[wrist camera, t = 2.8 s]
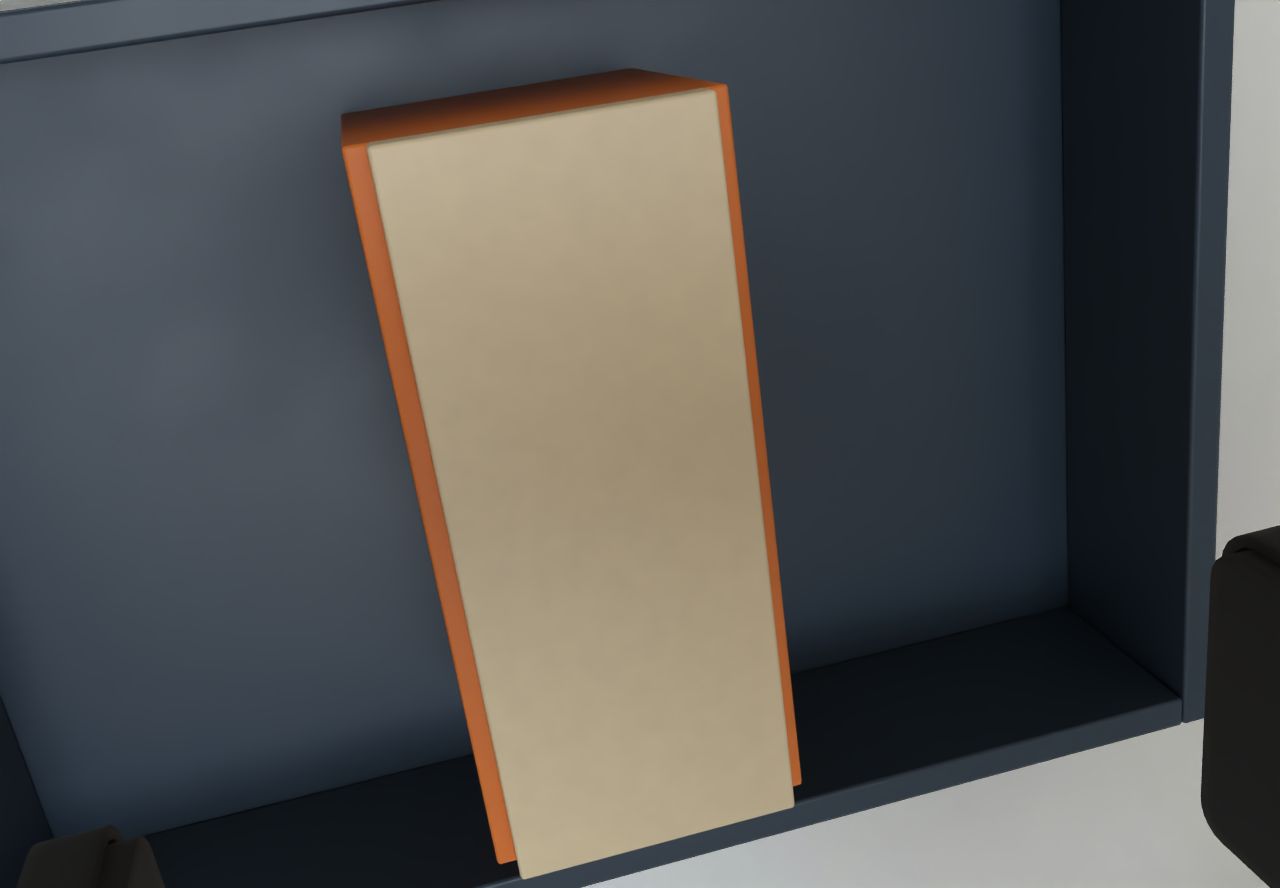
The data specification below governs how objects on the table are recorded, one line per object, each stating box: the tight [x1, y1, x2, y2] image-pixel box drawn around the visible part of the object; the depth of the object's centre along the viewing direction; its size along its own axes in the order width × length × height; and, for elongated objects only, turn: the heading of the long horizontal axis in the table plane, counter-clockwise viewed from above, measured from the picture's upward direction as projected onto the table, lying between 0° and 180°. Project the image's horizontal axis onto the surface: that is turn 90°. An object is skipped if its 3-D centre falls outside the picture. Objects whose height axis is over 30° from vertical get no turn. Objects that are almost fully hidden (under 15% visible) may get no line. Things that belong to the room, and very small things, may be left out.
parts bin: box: [0, 0, 1235, 888], centre depth 21 cm, size 22×15×4 cm
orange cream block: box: [341, 68, 802, 879], centre depth 20 cm, size 5×11×6 cm, turn 8°
